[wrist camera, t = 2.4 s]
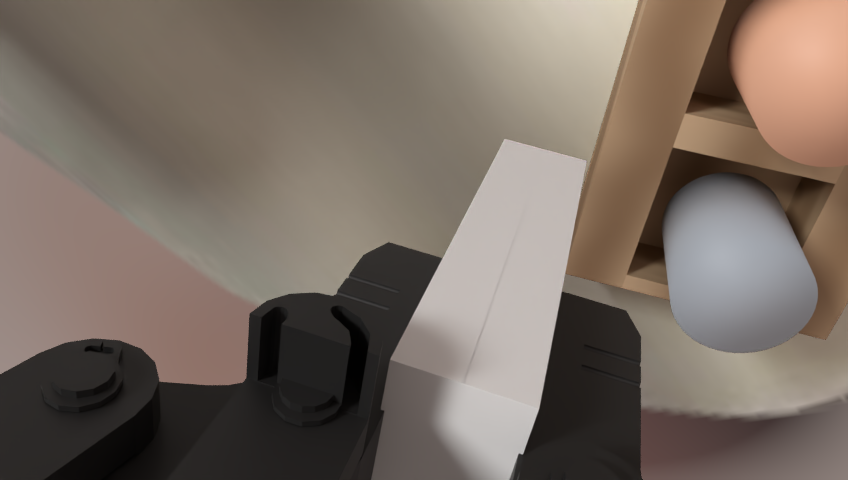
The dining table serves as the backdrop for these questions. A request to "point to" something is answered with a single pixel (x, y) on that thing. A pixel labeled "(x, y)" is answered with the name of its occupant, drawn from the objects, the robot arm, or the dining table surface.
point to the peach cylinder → (795, 76)
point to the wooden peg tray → (693, 158)
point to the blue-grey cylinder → (735, 265)
